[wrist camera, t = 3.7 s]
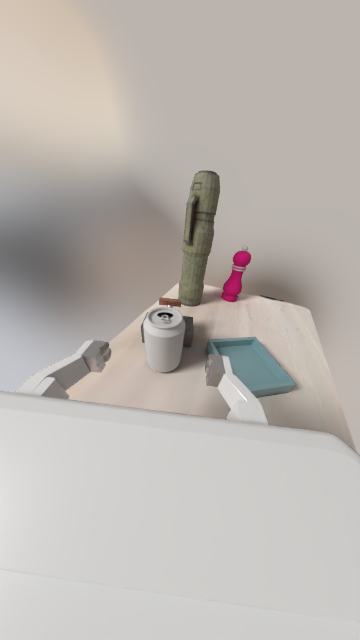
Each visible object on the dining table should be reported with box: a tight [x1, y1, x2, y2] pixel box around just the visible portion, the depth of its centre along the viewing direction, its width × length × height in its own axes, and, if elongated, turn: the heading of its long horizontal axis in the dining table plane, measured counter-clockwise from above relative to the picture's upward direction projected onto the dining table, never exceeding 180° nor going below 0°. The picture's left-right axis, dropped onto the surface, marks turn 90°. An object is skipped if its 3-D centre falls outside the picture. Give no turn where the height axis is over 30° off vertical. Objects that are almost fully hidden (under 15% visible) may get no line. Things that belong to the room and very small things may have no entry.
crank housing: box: [141, 298, 193, 347], centre depth 34 cm, size 7×12×10 cm, turn 87°
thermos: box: [178, 171, 220, 306], centre depth 44 cm, size 9×12×35 cm
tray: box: [206, 337, 297, 398], centre depth 30 cm, size 13×13×3 cm
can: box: [143, 307, 186, 372], centre depth 27 cm, size 8×8×12 cm
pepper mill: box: [222, 246, 251, 302], centre depth 53 cm, size 7×7×20 cm
